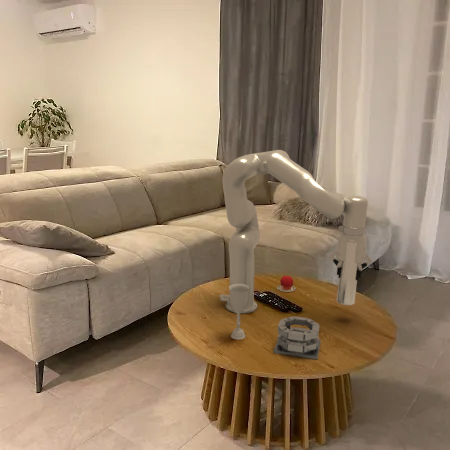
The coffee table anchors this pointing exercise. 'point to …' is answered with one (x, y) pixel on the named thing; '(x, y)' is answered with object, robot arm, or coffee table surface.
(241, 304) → the chalice
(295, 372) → the coffee table surface
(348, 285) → the silver metal cylinder
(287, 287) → the apple
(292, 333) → the collar stand
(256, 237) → the robot arm
